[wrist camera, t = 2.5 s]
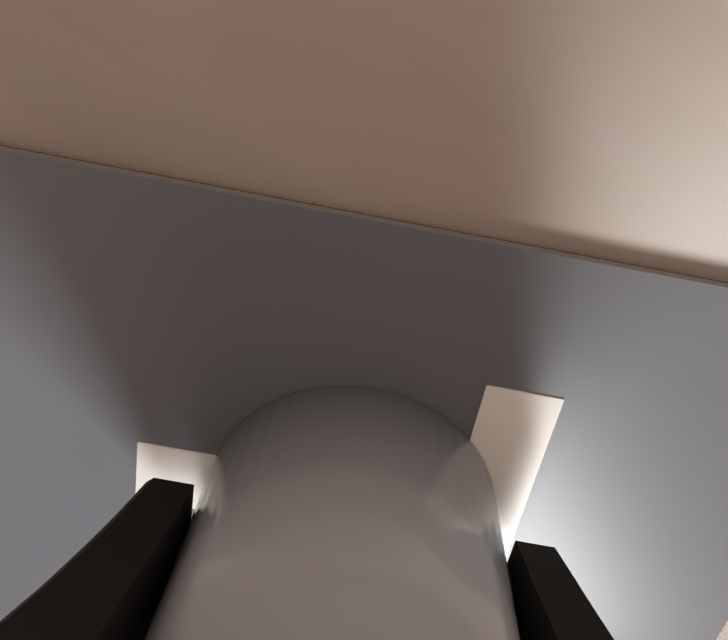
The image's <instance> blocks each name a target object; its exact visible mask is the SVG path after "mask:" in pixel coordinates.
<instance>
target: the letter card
mask: <svg viewBox="0 0 728 640" xmlns="http://www.w3.org/2000/svg"><path fill="white" fill-rule="evenodd" d="M335 386H343V387H363V388H371V389H378V390H382V391H387V392H391V393H395V394H398V395H401V396H404V397H407V398H409V399H412V400H415V401H417V402H419V403H421V404H423V405H425V406H427V407H429V408H431V409H433V410H435V411H436V412H438V413H439V414H441V415H442V416H444V417H445V418H447V419H448V420H450V421H451V422H452V423H453V424H454V425H455V426H456V427H458V428H459V429H460V430H461V431H462V432H463V433H464V434H465V435H466V436H467V437H468V438H469V440H470V441H471V442H472V443H473V444H474V445H475V447H476V448H477V450H478V452H479V453H480V455H481V456H482V458H483V459H484V461H485V464H486V466H487V468H488V471H489V473H490V476H491V479H492V483H493V487H494V492H495V497H496V503H497V509H498V514H499V520H500V526H501V531H502V537H503V543H504V548H505V554H506V560H507V562H508V559H509V556H510V554H511V551H512V548H513V546H514V543H515V541H521V542H527V543H532V544H538V545H544V546H550V547H555V548H556V550H557V552H558V553H559V555H560V556H561V558H562V559H563V561H564V562H565V564H566V565H567V567H568V568H569V570H570V572H571V573H572V575H573V576H574V578H575V579H576V581H577V583H578V584H579V586H580V587H581V589H582V590H583V592H584V594H585V595H586V597H587V598H588V600H589V601H590V603H591V605H592V606H593V608H594V609H595V611H596V612H597V614H598V615H599V617H600V619H601V620H602V622H603V623H604V625H605V626H606V628H607V629H608V631H609V632H610V634H611V635H612V637H613V638H614V640H716V638H717V637H718V635H719V633H720V632H721V630H722V628H723V627H724V625H725V623H726V622H727V620H728V283H724V282H719V281H714V280H708V279H703V278H698V277H693V276H687V275H682V274H677V273H671V272H666V271H661V270H656V269H650V268H645V267H640V266H634V265H629V264H624V263H619V262H613V261H608V260H603V259H597V258H592V257H587V256H582V255H576V254H571V253H566V252H560V251H555V250H550V249H544V248H539V247H534V246H529V245H523V244H518V243H513V242H507V241H502V240H497V239H492V238H486V237H481V236H476V235H470V234H465V233H460V232H455V231H449V230H444V229H439V228H433V227H428V226H423V225H418V224H412V223H407V222H402V221H396V220H391V219H386V218H381V217H375V216H370V215H365V214H359V213H354V212H349V211H343V210H338V209H333V208H328V207H322V206H317V205H312V204H306V203H301V202H296V201H291V200H285V199H280V198H275V197H269V196H264V195H259V194H254V193H248V192H243V191H238V190H232V189H227V188H222V187H217V186H211V185H206V184H201V183H195V182H190V181H185V180H179V179H174V178H169V177H164V176H158V175H153V174H148V173H142V172H137V171H132V170H127V169H121V168H116V167H111V166H105V165H100V164H95V163H90V162H84V161H79V160H74V159H68V158H63V157H58V156H53V155H47V154H42V153H37V152H31V151H26V150H21V149H16V148H10V147H5V146H0V621H1V620H2V619H3V618H4V617H6V616H7V615H8V614H9V613H10V612H11V611H13V610H14V609H15V608H16V607H17V606H19V605H20V604H21V603H22V602H23V601H24V600H26V599H27V598H28V597H29V596H30V595H31V594H33V593H34V592H35V591H36V590H37V589H39V588H40V587H41V586H42V585H43V584H44V583H45V582H46V581H47V580H49V579H50V578H51V577H52V576H53V575H54V574H55V573H56V572H57V571H58V570H59V569H60V568H61V567H63V566H64V565H65V564H66V563H67V562H68V561H69V560H70V559H71V558H72V557H73V556H74V555H75V554H76V553H77V552H79V551H80V550H81V549H82V548H83V547H84V546H85V545H86V544H87V543H88V542H89V541H90V540H91V539H92V538H93V537H94V536H95V535H96V534H97V533H98V532H99V531H100V530H101V529H102V528H103V527H104V526H105V525H106V524H107V523H108V522H109V521H110V520H111V519H112V518H113V517H114V516H115V515H116V514H117V513H118V512H119V511H120V510H121V509H122V508H123V507H124V506H125V505H126V503H127V502H128V501H129V500H130V499H131V498H132V497H133V496H134V495H135V494H136V493H137V492H138V490H139V489H140V488H141V487H142V486H143V485H144V484H145V483H146V482H147V481H149V480H151V479H152V478H159V479H164V480H170V481H176V482H182V483H187V484H193V485H194V493H193V504H192V516H193V513H194V511H195V508H196V506H197V503H198V500H199V498H200V495H201V493H202V490H203V488H204V485H205V482H206V480H207V477H208V475H209V472H210V470H211V467H212V464H213V462H214V459H215V457H216V455H217V453H218V451H219V449H220V448H221V446H222V444H223V442H224V441H225V440H226V438H227V437H228V436H229V435H230V433H231V432H232V431H233V430H234V429H235V428H236V427H237V426H238V425H239V424H240V423H241V422H242V421H243V420H244V419H246V418H247V417H248V416H250V415H251V414H252V413H254V412H255V411H257V410H258V409H260V408H261V407H263V406H265V405H267V404H269V403H271V402H273V401H275V400H277V399H280V398H283V397H286V396H288V395H291V394H294V393H297V392H302V391H306V390H311V389H315V388H325V387H335ZM192 516H191V518H192Z"/></svg>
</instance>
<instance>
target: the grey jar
mask: <svg viewBox="0 0 728 640" xmlns="http://www.w3.org/2000/svg"><path fill="white" fill-rule="evenodd" d="M144 640H521V639H520V633H519V628H518V622H517V616H516V611H515V605H514V599H513V594H512V588H511V582H510V577H509V571H508V565H507V560H506V554H505V548H504V543H503V537H502V531H501V526H500V520H499V514H498V509H497V503H496V497H495V492H494V487H493V483H492V479H491V476H490V473H489V471H488V468H487V466H486V464H485V461H484V459H483V458H482V456H481V455H480V453H479V452H478V450H477V448H476V447H475V445H474V444H473V443H472V442H471V441H470V440H469V438H468V437H467V436H466V435H465V434H464V433H463V432H462V431H461V430H460V429H459V428H458V427H456V426H455V425H454V424H453V423H452V422H451V421H450V420H448V419H447V418H445V417H444V416H442V415H441V414H439V413H438V412H436V411H435V410H433V409H431V408H429V407H427V406H425V405H423V404H421V403H419V402H417V401H415V400H412V399H409V398H407V397H404V396H401V395H398V394H395V393H391V392H387V391H382V390H378V389H371V388H363V387H343V386H335V387H325V388H315V389H311V390H306V391H302V392H297V393H294V394H291V395H288V396H286V397H283V398H280V399H277V400H275V401H273V402H271V403H269V404H267V405H265V406H263V407H261V408H260V409H258V410H257V411H255V412H254V413H252V414H251V415H250V416H248V417H247V418H246V419H244V420H243V421H242V422H241V423H240V424H239V425H238V426H237V427H236V428H235V429H234V430H233V431H232V432H231V433H230V435H229V436H228V437H227V438H226V440H225V441H224V442H223V444H222V446H221V448H220V449H219V451H218V453H217V455H216V457H215V459H214V462H213V464H212V467H211V470H210V472H209V475H208V477H207V480H206V482H205V485H204V488H203V490H202V493H201V495H200V498H199V500H198V503H197V506H196V508H195V511H194V513H193V516H192V518H191V521H190V524H189V526H188V529H187V531H186V534H185V537H184V539H183V542H182V544H181V547H180V549H179V552H178V555H177V557H176V560H175V562H174V565H173V567H172V570H171V573H170V575H169V578H168V580H167V583H166V585H165V588H164V591H163V593H162V596H161V598H160V601H159V603H158V606H157V609H156V611H155V614H154V616H153V619H152V621H151V624H150V627H149V629H148V632H147V634H146V637H145V639H144Z"/></svg>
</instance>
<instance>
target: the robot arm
mask: <svg viewBox="0 0 728 640" xmlns="http://www.w3.org/2000/svg"><path fill="white" fill-rule="evenodd" d="M193 493H194V485H193V484H187V483H182V482H176V481H170V480H164V479H159V478H152V479H151V480H149V481H147V482H146V483H145V484H144V485H143V486H142V487H141V488H140V489H139V490H138V492H137V493H136V494H135V495H134V496H133V497H132V498H131V499H130V500H129V501H128V502H127V503H126V505H125V506H124V507H123V508H122V509H121V510H120V511H119V512H118V513H117V514H116V515H115V516H114V517H113V518H112V519H111V520H110V521H109V522H108V523H107V524H106V525H105V526H104V527H103V528H102V529H101V530H100V531H99V532H98V533H97V534H96V535H95V536H94V537H93V538H92V539H91V540H90V541H89V542H88V543H87V544H86V545H85V546H84V547H83V548H82V549H81V550H80V551H79V552H77V553H76V554H75V555H74V556H73V557H72V558H71V559H70V560H69V561H68V562H67V563H66V564H65V565H64V566H63V567H61V568H60V569H59V570H58V571H57V572H56V573H55V574H54V575H53V576H52V577H51V578H50V579H49V580H47V581H46V582H45V583H44V584H43V585H42V586H41V587H40V588H39V589H37V590H36V591H35V592H34V593H33V594H31V595H30V596H29V597H28V598H27V599H26V600H24V601H23V602H22V603H21V604H20V605H19V606H17V607H16V608H15V609H14V610H13V611H11V612H10V613H9V614H8V615H7V616H6V617H4V618H3V619H2V620H1V621H0V640H144V639H145V637H146V634H147V632H148V629H149V627H150V624H151V621H152V619H153V616H154V614H155V611H156V609H157V606H158V603H159V601H160V598H161V596H162V593H163V591H164V588H165V585H166V583H167V580H168V578H169V575H170V573H171V570H172V567H173V565H174V562H175V560H176V557H177V555H178V552H179V549H180V547H181V544H182V542H183V539H184V537H185V534H186V531H187V529H188V526H189V524H190V521H191V516H192V504H193ZM507 565H508V571H509V577H510V582H511V588H512V594H513V599H514V605H515V611H516V616H517V622H518V628H519V633H520V639H521V640H614V638H613V637H612V635H611V634H610V632H609V631H608V629H607V628H606V626H605V625H604V623H603V622H602V620H601V619H600V617H599V615H598V614H597V612H596V611H595V609H594V608H593V606H592V605H591V603H590V601H589V600H588V598H587V597H586V595H585V594H584V592H583V590H582V589H581V587H580V586H579V584H578V583H577V581H576V579H575V578H574V576H573V575H572V573H571V572H570V570H569V568H568V567H567V565H566V564H565V562H564V561H563V559H562V558H561V556H560V555H559V553H558V552H557V550H556V548H555V547H550V546H544V545H538V544H532V543H527V542H521V541H515V543H514V546H513V548H512V551H511V554H510V556H509V559H508V562H507Z"/></svg>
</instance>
